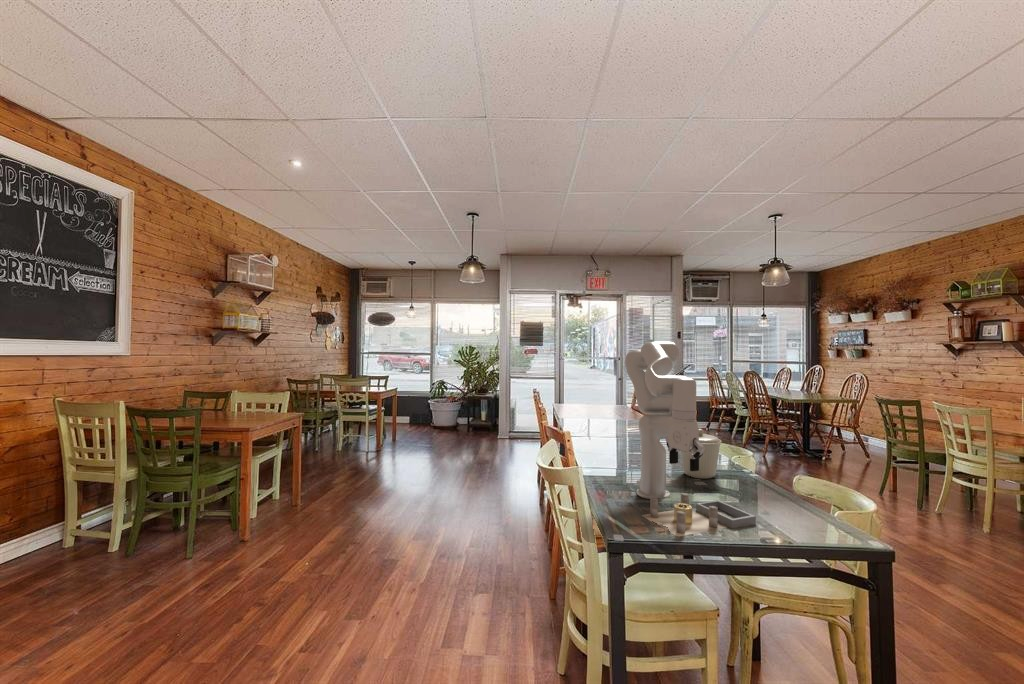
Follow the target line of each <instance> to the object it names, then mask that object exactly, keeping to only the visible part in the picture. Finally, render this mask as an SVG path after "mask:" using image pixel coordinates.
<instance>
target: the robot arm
mask: <svg viewBox="0 0 1024 684" xmlns="http://www.w3.org/2000/svg"><path fill="white" fill-rule="evenodd" d="M624 358H625V360H624V364H625V371H626V372H627V375H628V377H629V379H630V381H631V383H632V385H633V386H632V387H633V388H634V389H633V390H634V394H635V399H636V403H637V406H638V407H637V408H638V410H639V412H640V413H642V414H644V415H643V416H641V417H640V418H639V420H638V431H639V438H640V478H639V479H637V480H636V483H637V484H638V485H639V488H637V489H636V495H638V496H639V497H640V498H643V499H647V500H650V498H657V499H658V500H662V499H669V498H670V497H671V493H670V491H669V490H667V451H668V452H669V454H668V456H669V457H668V459H669V464H671V465H673V464H678V463H679V451H680V452H681V451H683V452H689V454H690V456H691V458H692V459H690V471H699V459H700V458H701V456H702V455H703V452H704V449H705V447H704V446H703V445H702V444H701V443H700V442H699V432H698V429H699V425H698V421H697V381H696V379H694V378H691V377H690V378H689V377H688V376H685V375H668V374H670V372H671V371H672V369H673V367H674V364H676V363H678V361H679V358H680V349H679V347H678V345H677V344H676V343H675V342H672V341H648V342H646V343H644V344H643V345H642V346H641V348H640V349H635V350H631V351H628V352H627V353H626V355H625V357H624ZM660 440H665V442H666V446H667V450H666V448H665V445H663V443H662V442H661V441H660ZM693 452H694V453H695V454H694V453H693Z"/></svg>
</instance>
